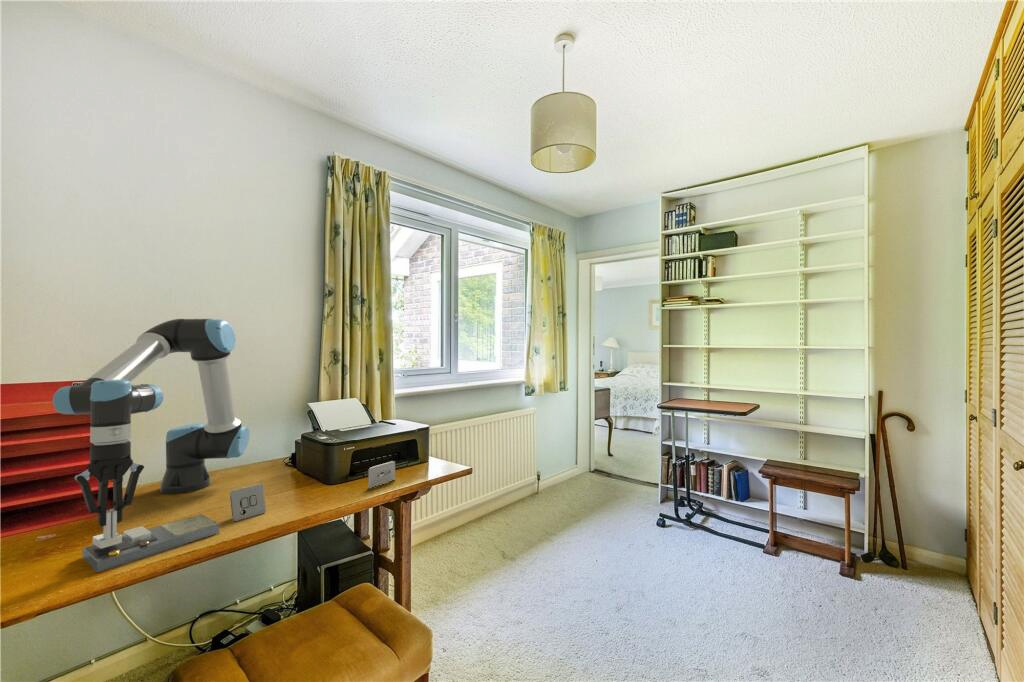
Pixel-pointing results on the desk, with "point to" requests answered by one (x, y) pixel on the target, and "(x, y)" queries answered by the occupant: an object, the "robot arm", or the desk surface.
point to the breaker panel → (149, 542)
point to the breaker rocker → (106, 541)
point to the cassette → (380, 479)
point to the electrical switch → (247, 502)
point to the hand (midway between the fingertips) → (110, 537)
